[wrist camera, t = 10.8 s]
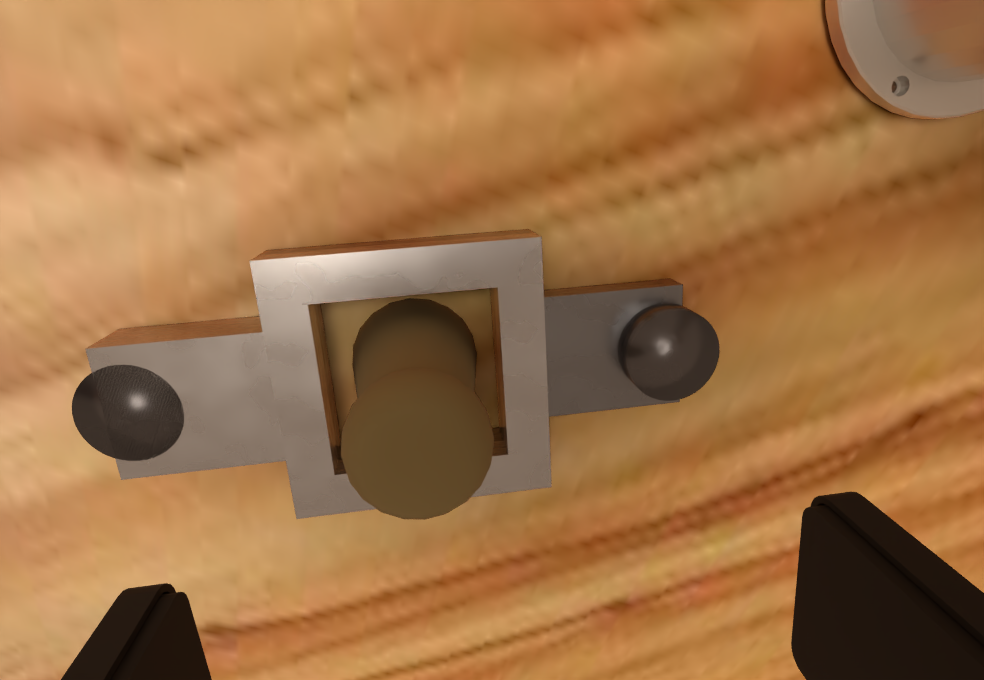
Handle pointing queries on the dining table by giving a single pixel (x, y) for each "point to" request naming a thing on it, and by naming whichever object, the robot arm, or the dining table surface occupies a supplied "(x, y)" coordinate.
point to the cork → (416, 412)
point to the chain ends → (307, 377)
